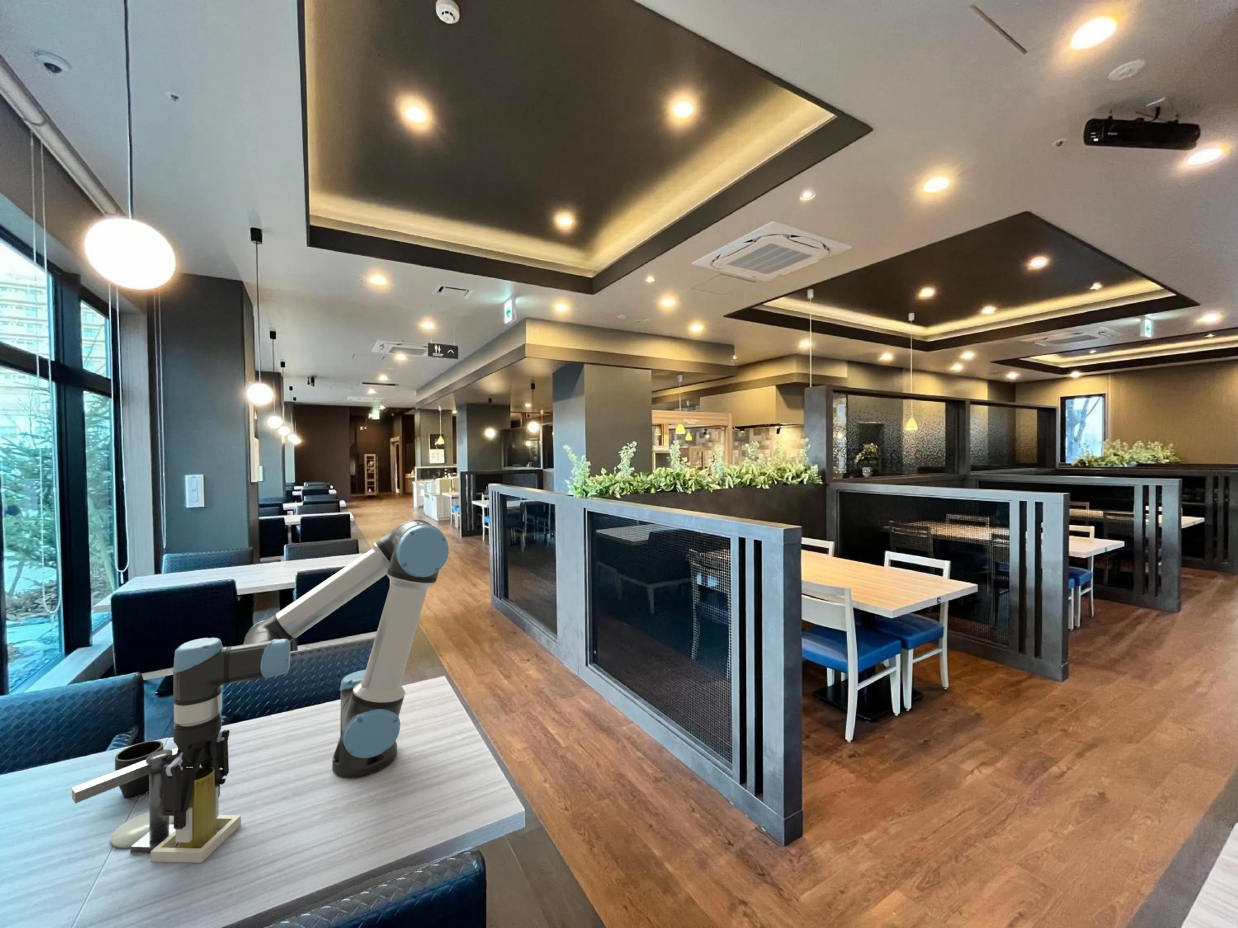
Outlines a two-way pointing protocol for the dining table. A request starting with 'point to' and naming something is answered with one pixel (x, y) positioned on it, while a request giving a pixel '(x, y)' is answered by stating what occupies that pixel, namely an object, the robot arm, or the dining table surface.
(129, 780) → the bar
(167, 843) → the cream rectangular frame
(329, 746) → the dining table surface
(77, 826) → the dining table surface
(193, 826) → the vase
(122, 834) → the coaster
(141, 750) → the mug
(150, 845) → the post
